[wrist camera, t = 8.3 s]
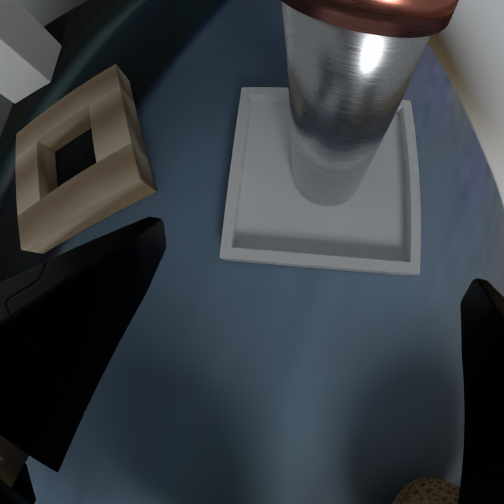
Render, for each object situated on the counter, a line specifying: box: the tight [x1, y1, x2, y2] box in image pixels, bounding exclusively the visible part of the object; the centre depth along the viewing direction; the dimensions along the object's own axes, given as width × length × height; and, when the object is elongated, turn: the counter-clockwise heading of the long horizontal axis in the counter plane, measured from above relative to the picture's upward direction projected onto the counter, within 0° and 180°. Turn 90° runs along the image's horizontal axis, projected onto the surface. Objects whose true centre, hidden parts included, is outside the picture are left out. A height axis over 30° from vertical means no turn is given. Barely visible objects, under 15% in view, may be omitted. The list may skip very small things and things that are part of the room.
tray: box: [219, 87, 421, 276], centre depth 18 cm, size 11×11×2 cm
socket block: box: [16, 64, 157, 254], centre depth 20 cm, size 11×11×2 cm
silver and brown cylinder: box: [281, 0, 459, 206], centre depth 11 cm, size 5×5×14 cm
